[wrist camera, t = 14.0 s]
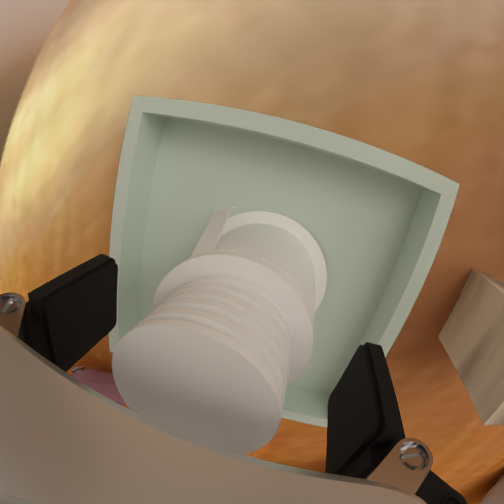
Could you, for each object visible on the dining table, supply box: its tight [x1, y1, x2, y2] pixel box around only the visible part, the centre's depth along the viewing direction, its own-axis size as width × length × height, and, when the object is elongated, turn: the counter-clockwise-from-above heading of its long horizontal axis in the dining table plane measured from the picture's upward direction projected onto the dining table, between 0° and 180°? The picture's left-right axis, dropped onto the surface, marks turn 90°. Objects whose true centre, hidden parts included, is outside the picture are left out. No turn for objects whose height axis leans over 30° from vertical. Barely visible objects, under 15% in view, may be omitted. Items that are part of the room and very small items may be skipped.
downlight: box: [112, 205, 327, 455], centre depth 11 cm, size 8×7×10 cm
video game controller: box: [71, 366, 127, 405], centre depth 21 cm, size 10×5×7 cm, turn 134°
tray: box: [109, 96, 460, 428], centre depth 15 cm, size 16×16×3 cm
